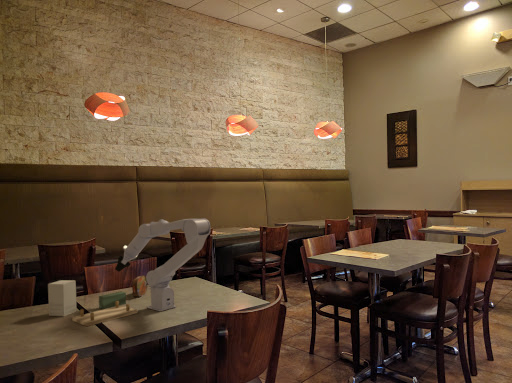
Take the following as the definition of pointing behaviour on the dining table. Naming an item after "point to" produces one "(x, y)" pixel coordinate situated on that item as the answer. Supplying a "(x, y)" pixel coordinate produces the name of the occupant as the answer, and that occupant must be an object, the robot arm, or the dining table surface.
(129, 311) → the base plate
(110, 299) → the board block
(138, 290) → the tin
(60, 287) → the supplement box
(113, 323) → the dining table surface
